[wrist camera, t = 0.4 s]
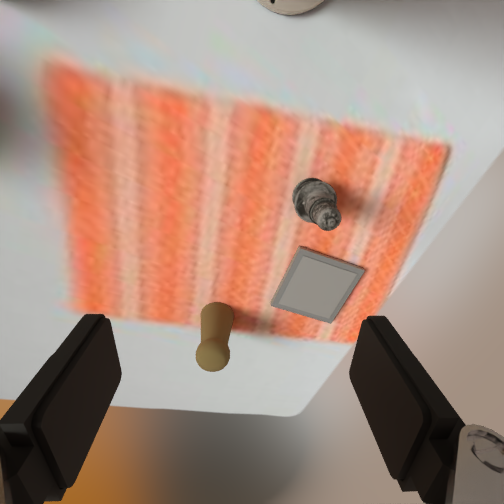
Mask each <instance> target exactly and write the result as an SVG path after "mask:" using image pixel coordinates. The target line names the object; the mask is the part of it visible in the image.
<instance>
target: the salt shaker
mask: <svg viewBox="0 0 504 504" xmlns="http://www.w3.org/2000/svg"><path fill="white" fill-rule="evenodd" d="M293 203H294V205H295V210H296V213H297V214H298V216H299V217H300V218H301V219H302V220H304V221H306V222H311V223H315V224H317V225H318V226H319V227H320V228H321V229H323V230H326V231H331V230H333V229H335V228H336V227H337V226H338V225H339V224H340V222H341V214H340V212H339V211H338V209H337V205H336V204H337V196H336V193H335V191H334V189H333V188H332V187H331V186H330V185H329V184H327V183H325V182H322V181H321V180H319V179H316V178H308V179H305V180H303V181H301V182H300V183H299V184H298V185H297V186H296V187H295V189H294V191H293Z"/></svg>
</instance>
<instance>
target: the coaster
mask: <svg viewBox="0 0 504 504" xmlns="http://www.w3.org/2000/svg"><path fill="white" fill-rule="evenodd" d="M364 271H365V270H364V269H363V268H362V267H359V266H356V265H354V264H351V263H348V262H345V261H342V260H339V259H336V258H333V257H331V256H328V255H325V254H322V253H319V252H316V251H313V250H310V249H307V248H305V247H302V246H299V247H298V249H297V251H296V253H295V255H294V257H293V259H292V261H291V263H290V265H289V267H288V269H287V271H286V273H285V275H284V277H283V279H282V281H281V283H280V285H279V287H278V289H277V291H276V293H275V295H274V297H273V299H272V301H271V306H273V307H276V308H280V309H283V310H287V311H290V312H293V313H297V314H300V315H303V316H307V317H310V318H314V319H317V320H320V321H324V322H327V323H332V321H333V320H334V318H335V317H336V315H337V313H338V312H339V310H340V309H341V307H342V306H343V304H344V303H345V301H346V299H347V298H348V296H349V295H350V293H351V292H352V290H353V289H354V287H355V285H356V284H357V282H358V281H359V279H360V278H361V276H362V275H363V273H364Z"/></svg>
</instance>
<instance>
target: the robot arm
mask: <svg viewBox="0 0 504 504" xmlns="http://www.w3.org/2000/svg"><path fill="white" fill-rule="evenodd" d="M257 1H258V2H259V3H260V4H261V5H262V6H264V7H266V8H268V9H269V10H271V11H273V12H276V13H280V14H285V15H295V14H300V13H304V12H307V11H309V10H311V9H313V8H315V7H316V6H318V5H319V4H320V3H322V2H323V1H324V0H275V3H273V4H272V3H271V1H270V0H257ZM121 375H122V372H121V367H120V362H119V358H118V353H117V349H116V344H115V340H114V335H113V331H112V327H111V322H110V319H108V318H105V316H104V315H103V314H86V315H84V316H83V317H82V319H81V320H80V321H79V322H78V324H77V325H76V326H75V327H74V329H73V330H72V331H71V333H70V334H69V335H68V336H67V338H66V339H65V340H64V342H63V343H62V344H61V345H60V347H59V348H58V349H57V351H56V352H55V353H54V354H53V355H52V356H51V357H50V358H49V359H48V360H47V361H46V363H45V364H44V365H43V366H42V368H41V369H40V370H39V372H38V373H37V374H36V375H35V377H34V378H33V379H32V380H31V382H30V383H29V384H28V385H27V387H26V388H25V389H24V391H23V392H22V393H21V394H20V396H19V397H18V398H17V399H16V401H15V402H14V403H13V405H12V406H11V407H10V408H9V410H8V411H7V412H6V414H5V415H4V416H3V417H2V418H1V420H0V504H43V503H44V501H61V500H62V498H63V495H64V493H65V491H66V489H67V488H70V487H71V486H73V484H74V483H75V481H76V479H77V476H78V474H79V472H80V470H81V467H82V465H83V463H84V461H85V459H86V456H87V454H88V452H89V450H90V447H91V445H92V443H93V441H94V438H95V436H96V434H97V432H98V430H99V427H100V425H101V423H102V421H103V419H104V416H105V414H106V412H107V410H108V407H109V405H110V403H111V401H112V399H113V396H114V394H115V392H116V390H117V387H118V385H119V383H120V380H121ZM349 375H350V380H351V383H352V385H353V387H354V390H355V392H356V394H357V397H358V399H359V401H360V404H361V406H362V409H363V411H364V413H365V416H366V418H367V420H368V423H369V425H370V428H371V430H372V432H373V435H374V437H375V440H376V442H377V444H378V447H379V449H380V452H381V454H382V456H383V459H384V461H385V463H386V466H387V468H388V471H389V473H390V475H391V476H392V478H393V479H397V481H398V483H399V485H400V487H401V490H402V491H403V492H405V491H418V493H419V495H420V497H421V500H422V501H423V504H504V437H503V436H502V435H500V434H498V433H497V432H495V431H493V430H491V429H489V428H486V427H484V426H480V425H475V424H472V425H465V424H464V422H463V421H462V419H461V418H460V417H459V415H458V414H457V413H456V411H455V410H454V408H453V407H452V406H451V404H450V403H449V402H448V401H447V399H446V398H445V396H444V395H443V393H442V392H441V391H440V389H439V388H438V387H437V385H436V384H435V383H434V381H433V380H432V379H431V377H430V376H429V374H428V373H427V372H426V370H425V369H424V368H423V366H422V365H421V363H420V362H419V361H418V359H417V358H416V357H415V356H414V354H413V353H412V352H411V351H410V349H409V348H408V346H407V345H406V344H405V342H404V341H403V339H402V338H401V337H400V335H399V334H398V333H397V331H396V330H395V328H394V327H393V326H392V324H391V323H390V322H389V320H388V319H387V318H386V317H385V316H368V317H367V319H366V320H363V321H362V324H361V328H360V332H359V336H358V340H357V344H356V347H355V351H354V355H353V359H352V363H351V367H350V371H349Z"/></svg>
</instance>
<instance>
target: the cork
mask: <svg viewBox="0 0 504 504" xmlns="http://www.w3.org/2000/svg"><path fill="white" fill-rule="evenodd" d="M233 319H234V313H233V310H232V309H231V308H230V307H229V306H228V305H226V304H224V303H221V302H214V303H210V304H208V305H206V306H205V307H204V308H203V309H202V312H201V343H200V344H199V346H198V348H197V351H196V361H197V363H198V365H199V366H200V367H201V368H202V369H204V370H206V371H210V372H215V371H219V370H221V369H223V368H224V367H225V366H226V365H227V364H228V361H229V359H230V350H229V347H228V341H229V336H230V332H231V328H232V323H233Z"/></svg>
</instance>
